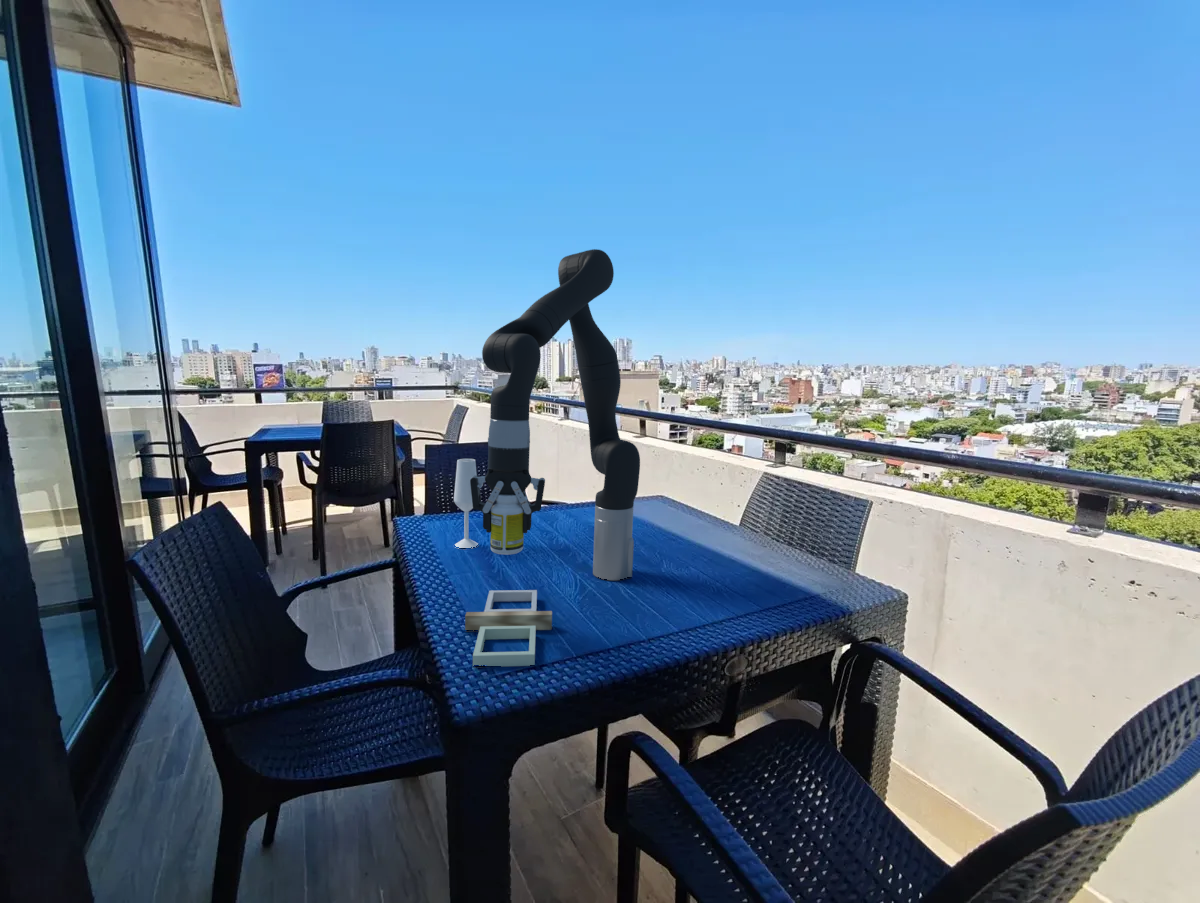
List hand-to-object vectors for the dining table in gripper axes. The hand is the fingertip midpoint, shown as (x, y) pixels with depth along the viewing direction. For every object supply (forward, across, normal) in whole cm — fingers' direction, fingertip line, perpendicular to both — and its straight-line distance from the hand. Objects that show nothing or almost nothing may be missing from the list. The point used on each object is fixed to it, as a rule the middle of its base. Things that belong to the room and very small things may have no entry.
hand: (507, 531), depth 98 cm
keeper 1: (+18, -1, -5) cm, 19 cm away
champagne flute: (+18, +15, -46) cm, 52 cm away
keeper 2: (+18, -1, +11) cm, 21 cm away
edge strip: (+18, -1, +3) cm, 18 cm away
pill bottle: (+4, 0, 0) cm, 4 cm away
